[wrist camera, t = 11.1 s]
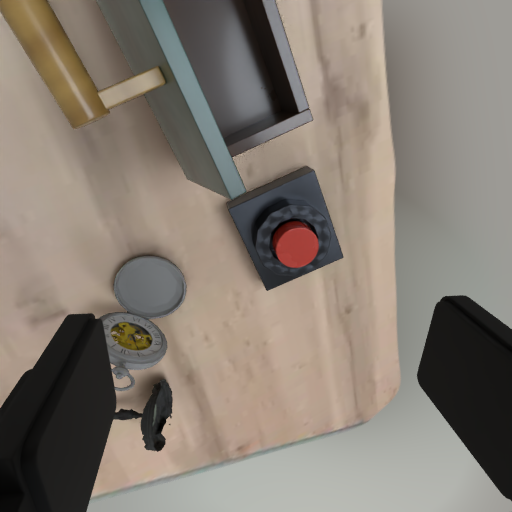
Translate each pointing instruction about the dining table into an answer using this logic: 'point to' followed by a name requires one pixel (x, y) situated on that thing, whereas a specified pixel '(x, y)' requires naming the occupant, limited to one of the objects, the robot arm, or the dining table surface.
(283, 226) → the alarm button
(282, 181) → the base
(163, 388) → the artificial flower
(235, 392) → the dining table surface
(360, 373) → the dining table surface
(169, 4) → the open brown box case
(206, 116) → the green panel
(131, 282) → the pocket watch
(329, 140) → the dining table surface
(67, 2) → the dining table surface
